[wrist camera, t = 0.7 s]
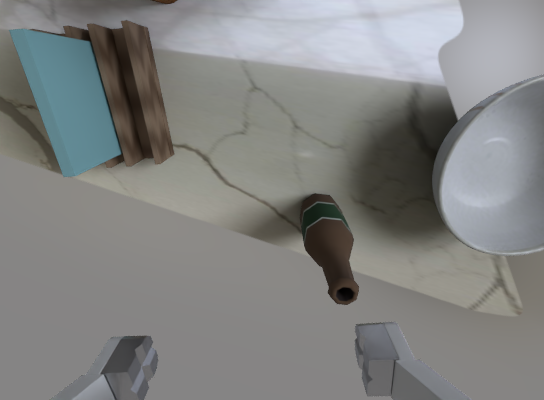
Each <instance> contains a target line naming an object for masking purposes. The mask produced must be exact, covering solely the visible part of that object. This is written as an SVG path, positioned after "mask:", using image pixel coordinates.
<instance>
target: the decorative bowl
mask: <svg viewBox="0 0 544 400" xmlns="http://www.w3.org/2000/svg"><path fill="white" fill-rule="evenodd" d="M432 187H433V195H434V199H435V203H436V206H437V209H438V212H439V214H440V216H441V219H442V220H443V222H444V224H445V225H446V227H447V228H448V230H449V231H450V232H451V233H452V234H453V235H454V236H455V237H456V238H457V239H458V240H459V241H460V242H462V243H463V244H465V245H467V246H468V247H470V248H472V249H475V250H477V251H480V252H483V253H487V254H492V255H501V256H515V255H525V254H530V253H535V252H539V251H542V250H544V75H540V76H536V77H533V78H530V79H527V80H524V81H521V82H518V83H516V84H514V85H511V86H509V87H507V88H505V89H502V90H500V91H498V92H496V93H495V94H493V95H491V96H489V97H488V98H486V99H485V100H483V101H481V102H480V103H479V104H477V105H476V106H474V107H473V108H472V109H471V110H469V111H468V112H467V113H466V114H465V115H464V116H463V117H462V118H461V119H460V120H459V121H458V122H457V123H456V124H455V125H454V126H453V128H452V129H451V130H450V131H449V133H448V134H447V136H446V137H445V139H444V141H443V143H442V144H441V146H440V149H439V151H438V153H437V156H436V159H435V163H434V168H433V176H432Z"/></svg>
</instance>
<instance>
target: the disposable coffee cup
mask: <svg viewBox="0 0 544 400" xmlns="http://www.w3.org/2000/svg"><path fill="white" fill-rule="evenodd" d="M152 1H157V2H160V3H164V4H171V3H174V2H176V1H177V0H152Z"/></svg>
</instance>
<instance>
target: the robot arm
mask: <svg viewBox="0 0 544 400" xmlns="http://www.w3.org/2000/svg"><path fill="white" fill-rule="evenodd" d="M355 332H356V335H357V338H356V340H355V351H356V357H357V362H358V365H359V367H360V368H361V369H362V380H363V383H364V387H365V390H366V394H367V396H391V397H392V399H393V400H471V399H470V398H469V397H468V396H466V395H465V394H464V393H462V392H461V391H460V390H458V389H457V388H456V387H454V386H453V385H452V384H451V383H449V382H448V381H447V380H445V379H444V378H443V377H442V376H440V375H439V374H438V373H437V372H435V371H434V370H433V369H431V368H430V367H429V366H428V365H426V364H425V363H424V362H422V361H421V360H419V359H415V358H414V355H413V354H412V351H411V349H410V347H409V346H408V344H407V341H406V339H405V337H404V335H403V333H402V331H401V329H400V327H399V325H398V323H396V322H383V323H366V324H356V326H355ZM152 343H153V341H152V338H151V336H124V337H112V338H110V339H109V340H108V342H107V343H106V344H105V346H104V348H103V349H102V351H101V352H100V354H99V355H98V357H97V358H96V360H95V361H94V363H93V365H92V366H91V368H90V369H89V371H88V372H87V374H86V375H82V376H80V377H79V378H78V379H76V380H75V381H74V382H73V383H71V384H70V385H69V386H67V387H66V388H65V389H63V390H62V391H61V392H59V393H58V394H57V395H55V396H54V397H53V398H51V399H50V400H144V398H145V396H146V394H147V391H148V389H149V386H148V381H149V380H150V379H151V378H152V377H153V376H154V374H155V371H156V369H157V363H158V357H157V356H158V355H157V352H156V350H155V349H154V348H152V347H151V346H152Z"/></svg>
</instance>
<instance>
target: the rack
mask: <svg viewBox="0 0 544 400" xmlns="http://www.w3.org/2000/svg"><path fill="white" fill-rule="evenodd" d="M121 22H122V27H123V28H121V29H109V28H106V27H102V26H99V25H96V24H87V27H88V30H84V29H80V28H76V27H72V26H63V27H64V30H65V34H55V33H50V32H45V31H40V30H35V29H30V30H32V31H37V32H43V33H48V34H53V35H58V36H63V37H68V38H74V39H79V40H84V41H89V42H92V45H93V48H94V52H95V56H96V59H97V63H98V66H99V70H100V73H101V77H102V81H103V84H104V88H105V91H106V95H107V98H108V102H109V106H110V109H111V113H112V116H113V120H114V124H115V127H116V131H117V134H118V138H119V141H120V145H121V149H122V152H123V153H122V154H120V155H118V156H116V157H114V158H112V159H110V160H108V161H106V162H105V164H106V167H107V168H112V167H113V166H115V165H117V164H119V163H121V162H123V161H125V163H126V166H132V165H134V164H136V163H137V162H139V161H141V160H142V159H144V158H154V160H155V164H161V163H163V162H164V161H165V160H167V159H168V158H169V157H171V156H173V155H174V151H173V146H172V141H171V136H170V132H169V127H168V122H167V117H166V113H165V108H164V103H163V98H162V94H161V89H160V84H159V79H158V75H157V70H156V65H155V60H154V56H153V51H152V46H151V41H150V37H149V32H148V28H147V27H144V26H140V25H138V24H135V23H133V22H130V21H127V20H125V21H121Z"/></svg>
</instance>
